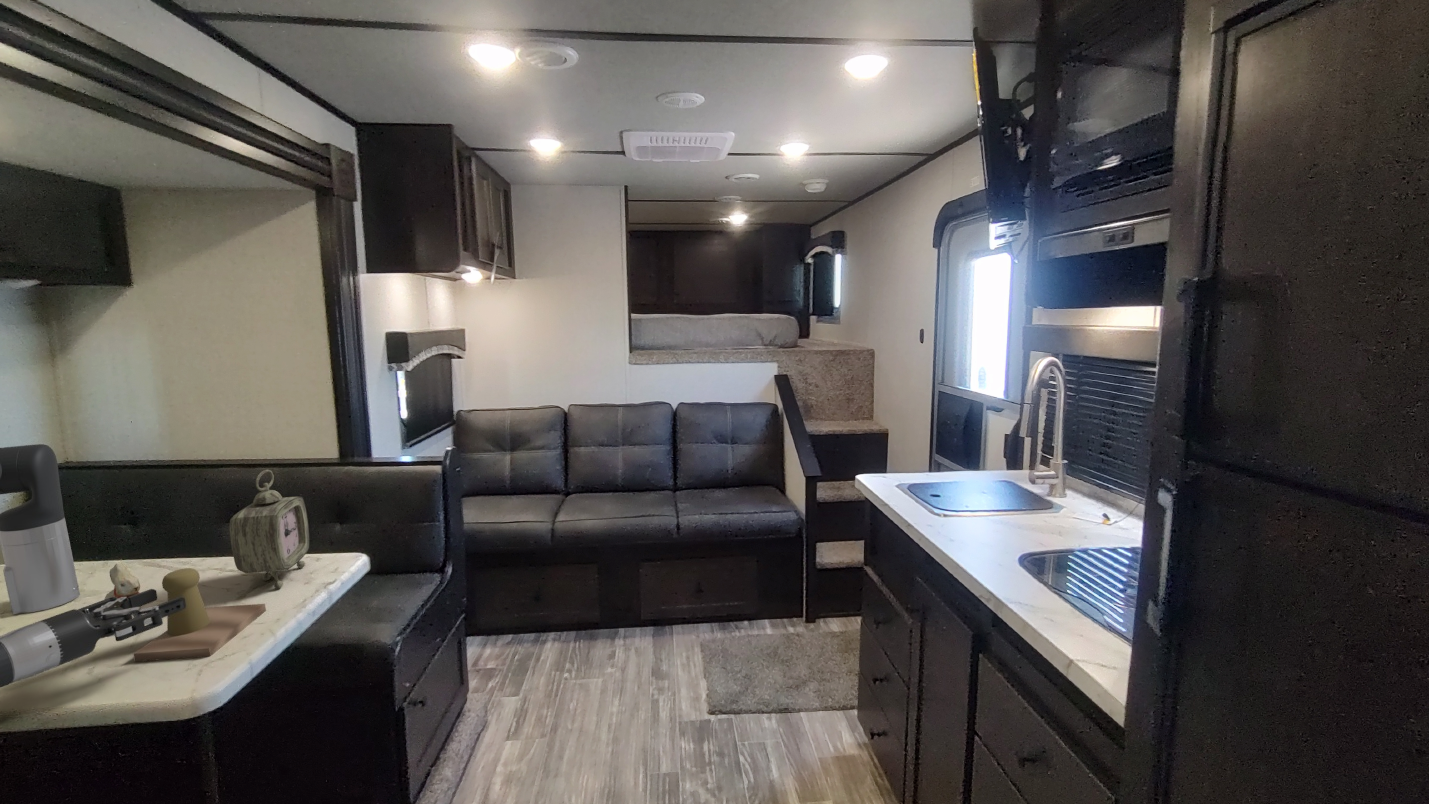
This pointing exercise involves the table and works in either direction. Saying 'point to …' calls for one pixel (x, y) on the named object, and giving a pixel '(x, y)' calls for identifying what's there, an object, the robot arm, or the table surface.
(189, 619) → the cork
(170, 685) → the table surface
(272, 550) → the tabletop clock
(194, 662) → the table surface
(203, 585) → the table surface
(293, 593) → the table surface
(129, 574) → the chocolate bunny
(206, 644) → the walnut board
